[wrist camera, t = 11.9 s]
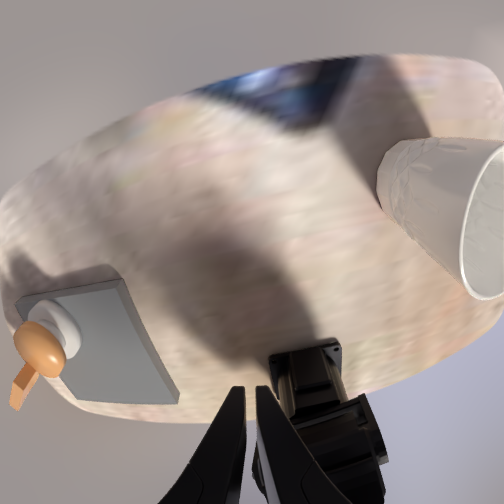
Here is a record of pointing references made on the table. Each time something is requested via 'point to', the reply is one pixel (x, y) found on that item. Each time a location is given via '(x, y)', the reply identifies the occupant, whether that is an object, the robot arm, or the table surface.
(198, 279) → the table surface
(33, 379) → the lever cap
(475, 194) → the white cup
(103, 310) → the base
